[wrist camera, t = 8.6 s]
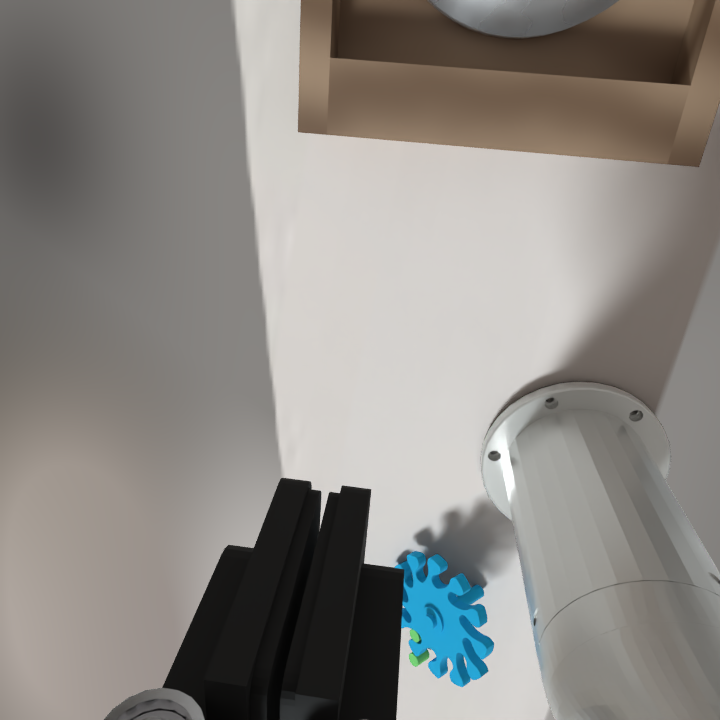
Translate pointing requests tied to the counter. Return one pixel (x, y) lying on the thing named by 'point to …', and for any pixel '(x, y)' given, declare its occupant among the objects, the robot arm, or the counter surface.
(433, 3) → the dial
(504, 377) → the counter surface
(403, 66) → the dial panel
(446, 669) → the gear
